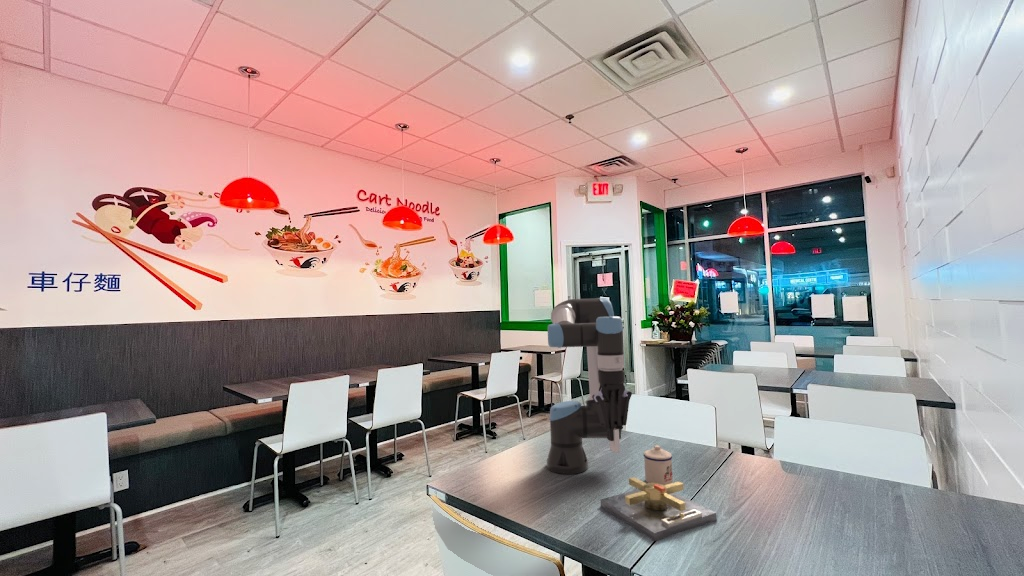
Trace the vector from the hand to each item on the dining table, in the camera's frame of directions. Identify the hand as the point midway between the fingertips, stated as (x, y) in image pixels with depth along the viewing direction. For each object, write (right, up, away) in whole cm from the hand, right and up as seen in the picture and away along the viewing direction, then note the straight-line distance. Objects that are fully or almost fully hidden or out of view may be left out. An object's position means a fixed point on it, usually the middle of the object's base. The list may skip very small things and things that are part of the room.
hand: (614, 451), depth 125 cm
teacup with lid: (+20, -18, +20) cm, 33 cm away
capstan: (+11, -14, -3) cm, 18 cm away
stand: (+11, -16, -3) cm, 20 cm away
